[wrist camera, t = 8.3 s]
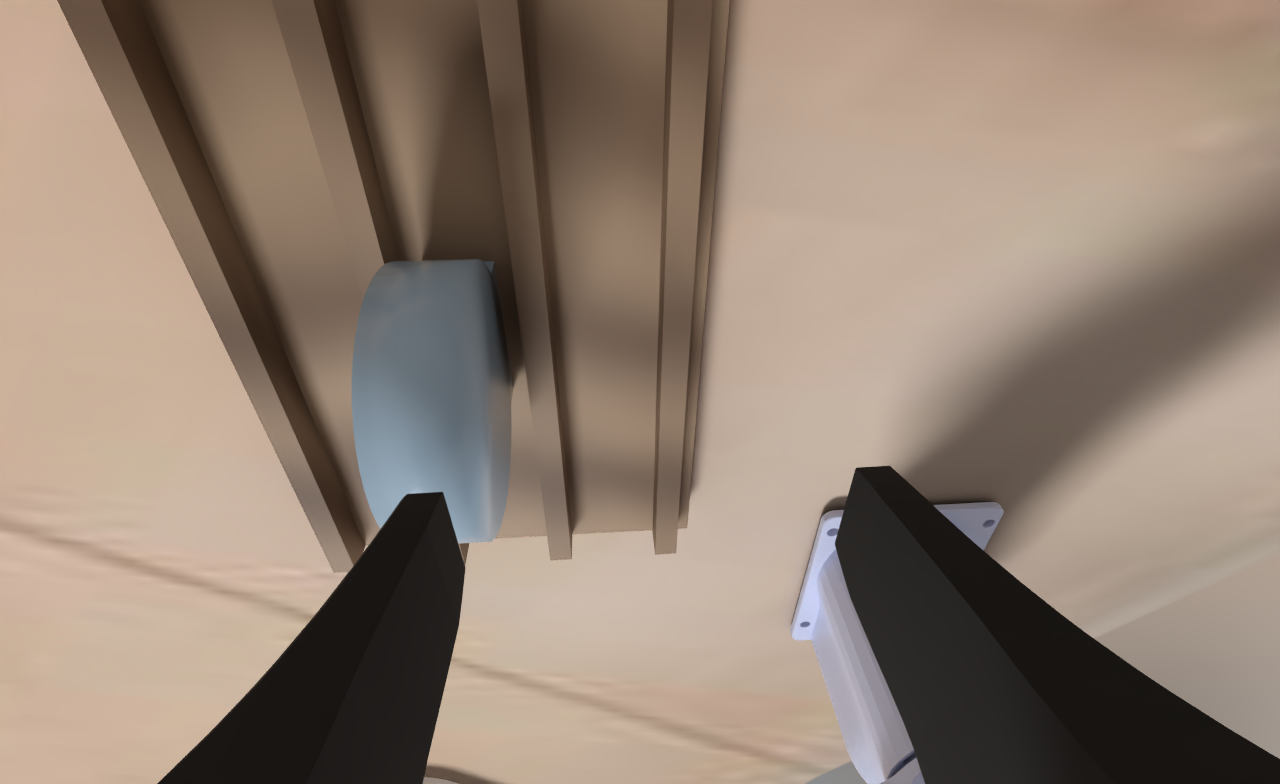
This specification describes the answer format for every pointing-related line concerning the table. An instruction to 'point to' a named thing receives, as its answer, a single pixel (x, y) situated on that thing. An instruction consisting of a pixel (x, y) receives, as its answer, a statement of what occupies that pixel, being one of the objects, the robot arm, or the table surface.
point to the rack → (443, 218)
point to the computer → (436, 781)
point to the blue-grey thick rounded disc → (434, 392)
